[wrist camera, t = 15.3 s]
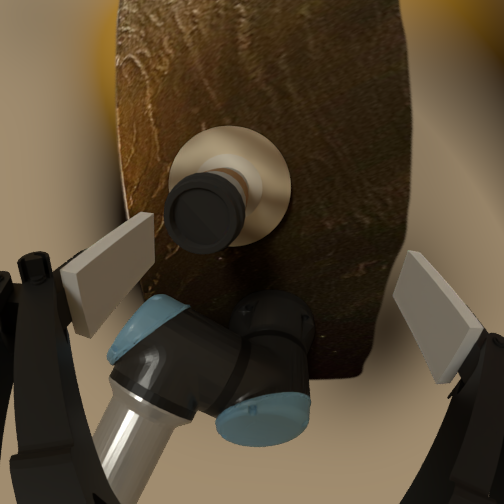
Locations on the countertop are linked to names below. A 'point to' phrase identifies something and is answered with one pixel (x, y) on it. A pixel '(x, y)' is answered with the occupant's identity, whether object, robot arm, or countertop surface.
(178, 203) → the coffee cup
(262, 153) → the cream round saucer
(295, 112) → the countertop surface
